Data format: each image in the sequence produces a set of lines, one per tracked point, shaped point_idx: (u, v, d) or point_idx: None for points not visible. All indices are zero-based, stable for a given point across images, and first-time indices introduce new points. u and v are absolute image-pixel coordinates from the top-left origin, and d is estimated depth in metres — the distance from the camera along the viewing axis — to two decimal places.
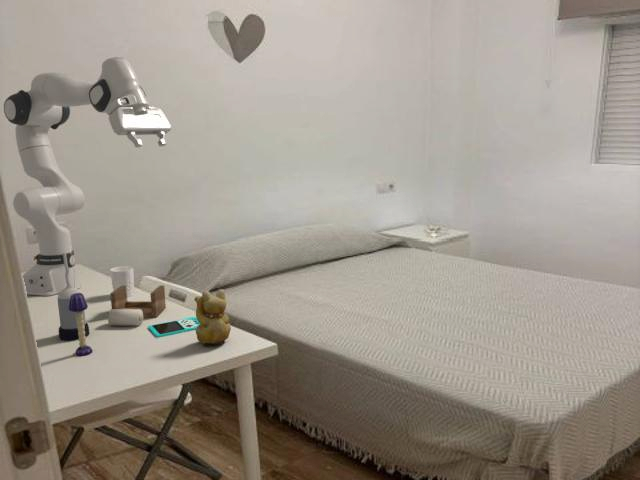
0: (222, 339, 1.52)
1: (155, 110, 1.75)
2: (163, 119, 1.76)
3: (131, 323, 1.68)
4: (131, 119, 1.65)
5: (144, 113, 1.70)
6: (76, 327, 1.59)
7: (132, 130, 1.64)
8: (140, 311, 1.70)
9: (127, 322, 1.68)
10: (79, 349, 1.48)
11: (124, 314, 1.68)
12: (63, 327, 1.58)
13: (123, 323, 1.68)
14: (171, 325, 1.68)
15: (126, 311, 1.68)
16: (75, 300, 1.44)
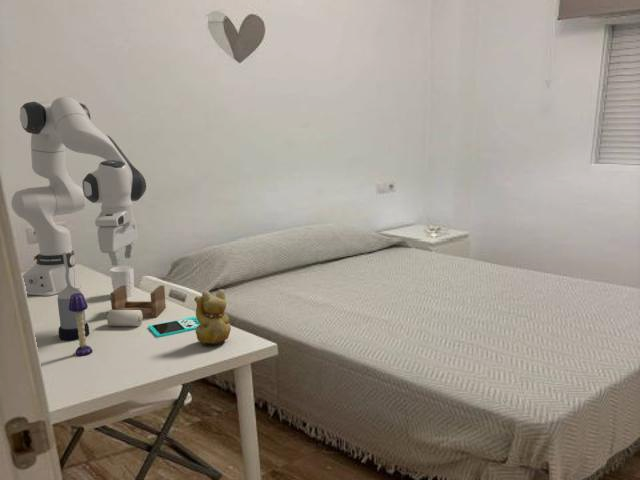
0: (222, 339, 1.52)
1: None
2: (135, 229, 1.72)
3: (131, 325, 1.68)
4: (118, 238, 1.60)
5: None
6: (76, 327, 1.59)
7: None
8: (139, 312, 1.69)
9: (127, 324, 1.67)
10: (79, 349, 1.48)
11: (123, 316, 1.67)
12: (63, 327, 1.58)
13: (123, 325, 1.68)
14: (171, 325, 1.68)
15: (125, 313, 1.67)
16: (75, 300, 1.44)
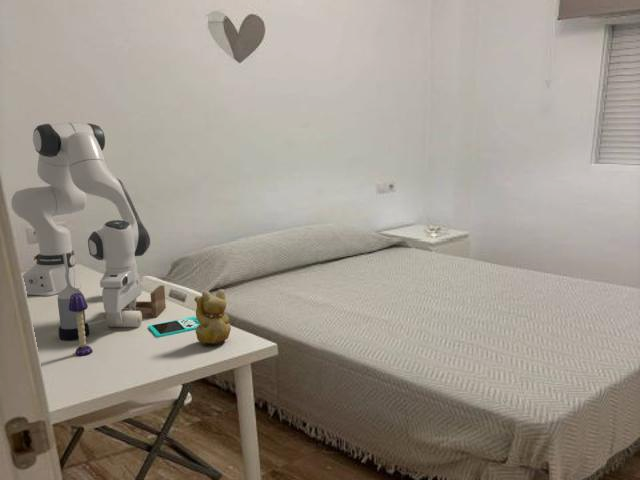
0: (222, 339, 1.52)
1: None
2: (139, 284, 1.76)
3: None
4: (122, 298, 1.63)
5: None
6: (76, 327, 1.59)
7: (121, 309, 1.63)
8: (137, 314, 1.67)
9: None
10: (79, 349, 1.48)
11: None
12: (63, 327, 1.58)
13: None
14: (171, 324, 1.68)
15: (123, 318, 1.66)
16: (75, 300, 1.44)
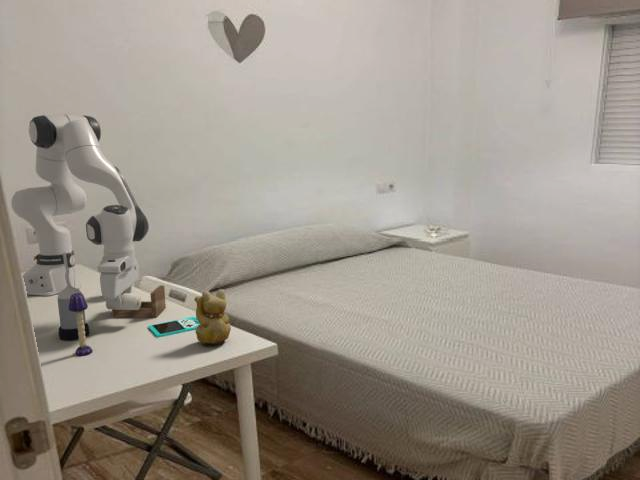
0: (222, 339, 1.52)
1: None
2: (137, 270, 1.75)
3: (130, 308, 1.68)
4: (120, 283, 1.63)
5: None
6: (76, 327, 1.59)
7: (118, 295, 1.62)
8: (138, 295, 1.69)
9: (125, 307, 1.67)
10: (79, 349, 1.48)
11: (121, 299, 1.67)
12: (63, 327, 1.58)
13: (121, 308, 1.68)
14: (171, 324, 1.68)
15: (123, 296, 1.67)
16: (75, 300, 1.44)
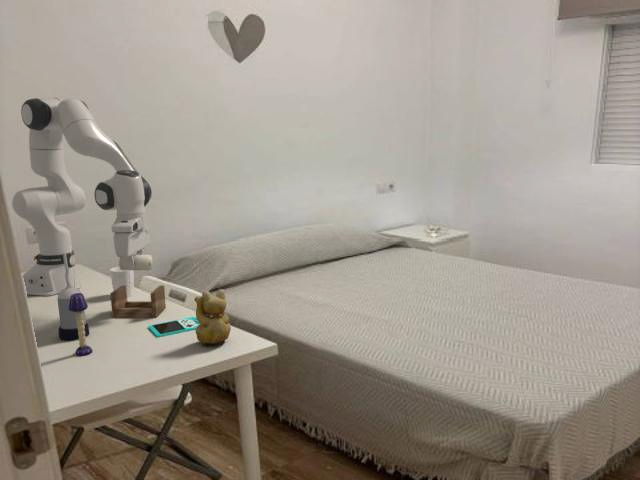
0: (222, 339, 1.52)
1: None
2: (147, 234, 1.84)
3: (142, 268, 1.76)
4: (132, 243, 1.71)
5: (139, 232, 1.77)
6: (76, 327, 1.59)
7: (131, 254, 1.71)
8: (149, 256, 1.77)
9: (138, 267, 1.76)
10: (79, 349, 1.48)
11: (134, 260, 1.75)
12: (63, 327, 1.58)
13: (134, 268, 1.76)
14: (171, 324, 1.68)
15: (136, 257, 1.76)
16: (75, 300, 1.44)
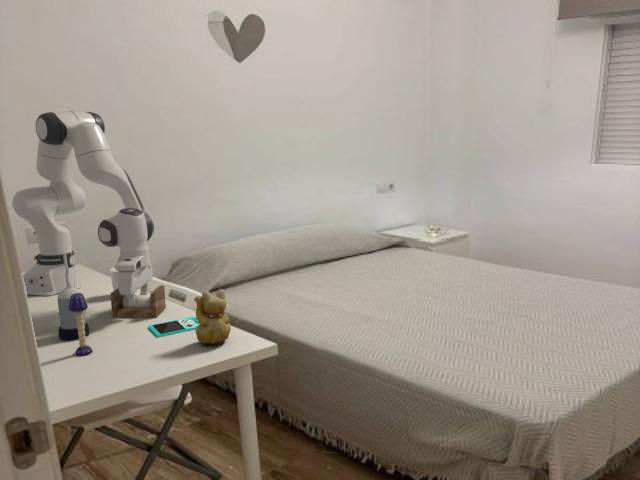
0: (222, 339, 1.52)
1: None
2: (150, 269, 1.86)
3: None
4: (136, 281, 1.73)
5: None
6: (76, 327, 1.59)
7: (134, 292, 1.73)
8: None
9: None
10: (79, 349, 1.48)
11: (137, 301, 1.78)
12: (63, 327, 1.58)
13: None
14: (171, 324, 1.68)
15: (139, 298, 1.78)
16: (75, 300, 1.44)
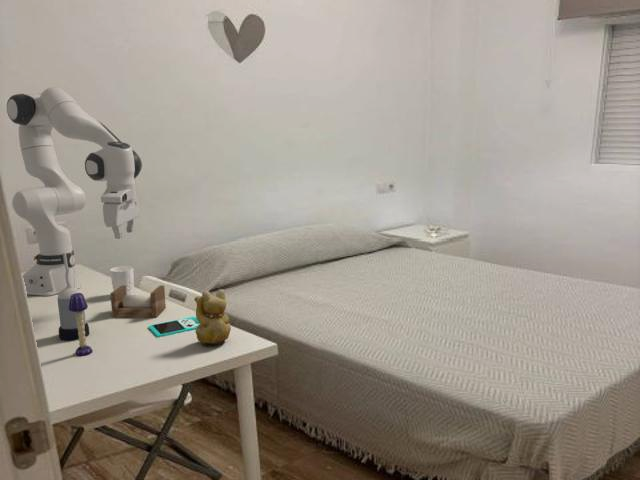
0: (222, 339, 1.52)
1: None
2: (137, 206, 1.87)
3: None
4: (121, 214, 1.74)
5: None
6: (76, 327, 1.59)
7: None
8: None
9: None
10: (79, 349, 1.48)
11: (137, 301, 1.78)
12: (63, 327, 1.58)
13: None
14: (171, 324, 1.68)
15: (139, 298, 1.79)
16: (75, 300, 1.44)
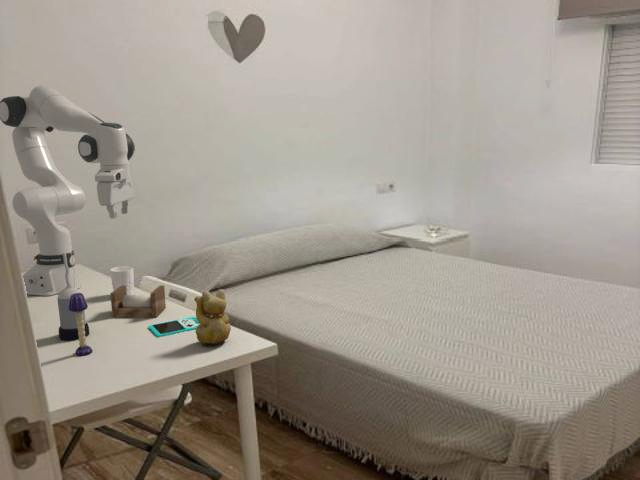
0: (222, 339, 1.52)
1: (128, 178, 1.86)
2: (131, 188, 1.88)
3: None
4: (115, 193, 1.75)
5: (123, 184, 1.81)
6: (76, 327, 1.59)
7: (114, 204, 1.75)
8: None
9: None
10: (79, 349, 1.48)
11: (137, 301, 1.78)
12: (63, 327, 1.58)
13: None
14: (171, 324, 1.68)
15: (139, 298, 1.78)
16: (75, 300, 1.44)
